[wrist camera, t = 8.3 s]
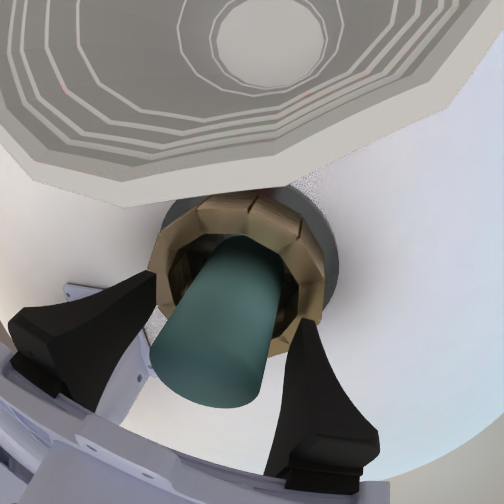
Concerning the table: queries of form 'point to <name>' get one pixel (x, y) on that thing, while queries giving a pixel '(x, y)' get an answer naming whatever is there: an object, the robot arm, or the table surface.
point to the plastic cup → (221, 87)
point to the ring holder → (262, 231)
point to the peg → (222, 327)
